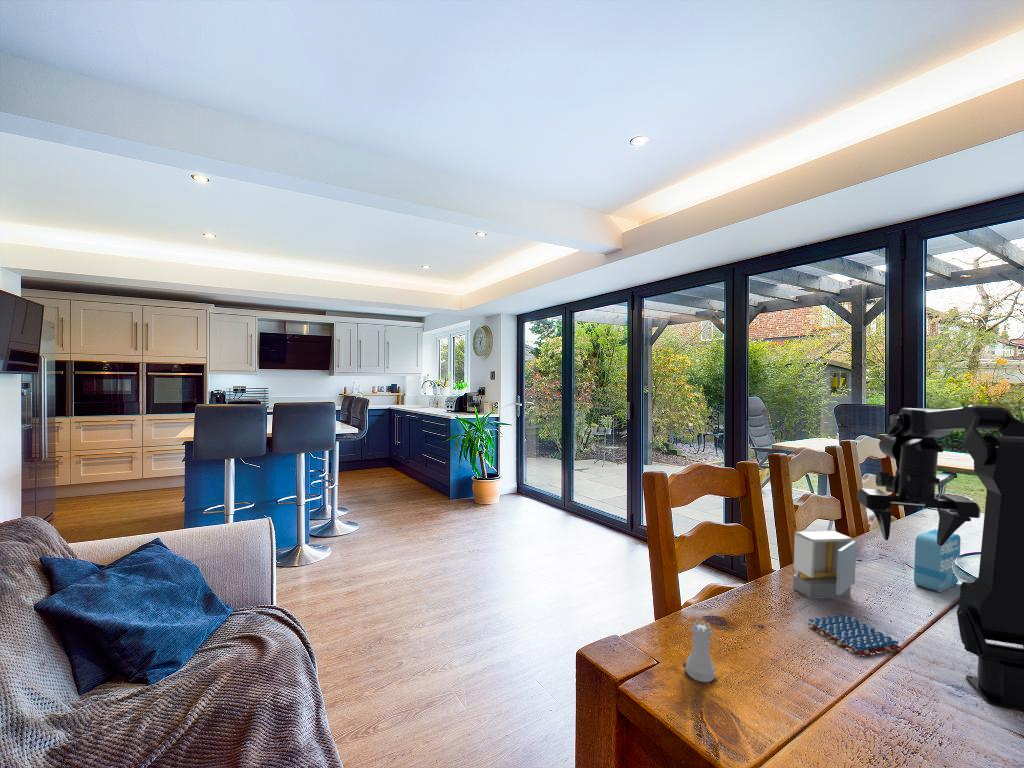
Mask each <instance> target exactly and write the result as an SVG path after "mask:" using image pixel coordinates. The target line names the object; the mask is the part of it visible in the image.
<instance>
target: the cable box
mask: <svg viewBox="0 0 1024 768" xmlns="http://www.w3.org/2000/svg"><path fill="white" fill-rule="evenodd" d="M851 541H853V537H851V536H848V535H845V534H843V533H841V532H838V531H836V530H812V531H811V530H808V531H807V530H806V531H805V530H804V531H803V530H801V531H794V545H793V546H794V547H793V550H794V551H793V569H794V570H795V574H793V575H792V589H794V590H795V591H797V592H799V593H800V594H802V595H804V596H805V597H807V598H808V599H811V600H812V599H824V598H825V599H827V598H830V599H831V598H843V597H845V598H846V597H848V598H849V597H851V591H852V590H851V589H852V588H851V587H852V586H850V587H849V588H848V589H847V590H846V591H844V592H843V593H842V594H841V595H837V594H836V584H837V557H838V550H839V549H841V548H842V547H844V546H845V545H847V544H848V543H850V542H851Z"/></svg>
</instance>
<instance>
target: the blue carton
mask: <svg viewBox="0 0 1024 768" xmlns="http://www.w3.org/2000/svg"><path fill="white" fill-rule="evenodd" d="M937 532H938V529H936V528H935V529H932V530H928V531H926V532H922V533H919V534H917V535H916V537H915V541H914V542H915V543H914V564H913V565H914V567H913V583H914V584H915V585H916V586H919V587H922V588H924V589H925V588H926V589H927V590H931V589H932V590H931V591H934V590H935V591H934V592H937V591H938V592H937V593H941V592H943V591H945V590H947V589H946V588H948V587H950V586H952V585H954V586H956V585H957V584H958V583H959V580H958V579H957V577H956V576H955V574H954V573H953V570H952V562H953V560H954V559H956V558H957V557H959V556H960V557H961V536H960V535H959V534H956V533H953V534H952V535H951V536H950V537H949V539H948V540H947V541H946V542H945V543H944V545H943V546H939V545H938V544H937ZM956 583H957V584H956ZM955 584H956V585H955ZM952 587H953V586H952ZM950 588H951V587H950ZM944 589H945V590H944ZM948 589H949V588H948ZM942 590H943V591H942ZM940 591H941V592H940Z"/></svg>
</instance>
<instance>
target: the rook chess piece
mask: <svg viewBox="0 0 1024 768" xmlns="http://www.w3.org/2000/svg"><path fill="white" fill-rule="evenodd" d="M690 632H691V633H692V634H693V636H691V640H692V648H691V653H690V654H689V656H688V658H687V659H686V662H685V671H686V673H687V675H688V676H689V677H690V678H691V679H692V680H695V681H697V682H699V683H711V682H712V681H713V680H714V679H715V678H716V673H715V672H716V668H715V665H714V663H713V661H712V658H711V652H710V645H711V643H712V642H711V640H710V638H711V637H712V636H713V631H712V630H711V626H710V624H709V623H705V621H702V620H700V623H699V620H695V622H693V623H692V626H691V627H690Z"/></svg>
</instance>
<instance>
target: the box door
mask: <svg viewBox="0 0 1024 768" xmlns="http://www.w3.org/2000/svg"><path fill="white" fill-rule="evenodd" d="M856 554H857V540H852V541H851V542H850V543H848V544H847V545H845V546H844V547H842V548H841V549H839V550H838V557H837V584H836V594H837V595H841V594H842V593H843V592H844V591H846V590H847V589H848V588H849V587H850V586H851V587H852V586H853V585H854V584H855V583H856V558H857V555H856Z"/></svg>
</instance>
